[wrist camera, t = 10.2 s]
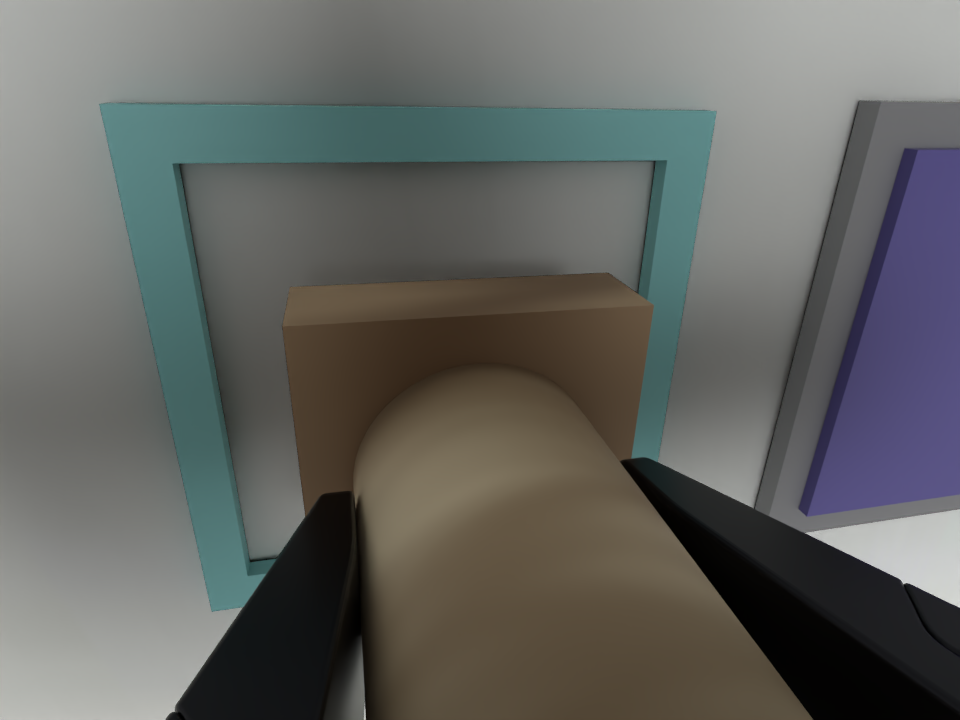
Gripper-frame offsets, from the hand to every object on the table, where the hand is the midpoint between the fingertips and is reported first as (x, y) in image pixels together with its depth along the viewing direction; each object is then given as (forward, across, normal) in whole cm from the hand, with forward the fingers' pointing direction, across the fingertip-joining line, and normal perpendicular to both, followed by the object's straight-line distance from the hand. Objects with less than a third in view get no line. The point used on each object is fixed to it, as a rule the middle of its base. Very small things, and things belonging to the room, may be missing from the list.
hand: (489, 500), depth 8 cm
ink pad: (+4, -13, 0) cm, 14 cm away
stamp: (+2, 0, 0) cm, 2 cm away
